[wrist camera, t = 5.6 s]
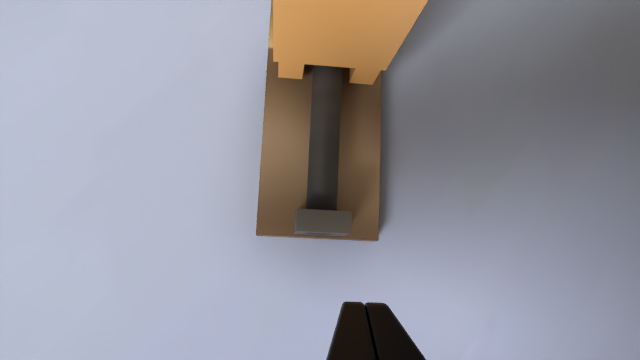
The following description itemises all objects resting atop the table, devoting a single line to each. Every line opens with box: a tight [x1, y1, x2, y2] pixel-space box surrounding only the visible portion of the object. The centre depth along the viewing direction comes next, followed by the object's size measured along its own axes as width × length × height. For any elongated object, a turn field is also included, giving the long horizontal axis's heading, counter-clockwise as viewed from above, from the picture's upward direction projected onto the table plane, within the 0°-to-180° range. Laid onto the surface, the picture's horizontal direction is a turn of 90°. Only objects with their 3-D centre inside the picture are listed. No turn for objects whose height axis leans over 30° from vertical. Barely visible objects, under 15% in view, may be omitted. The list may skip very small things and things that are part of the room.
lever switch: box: [256, 0, 382, 241], centre depth 19 cm, size 12×5×5 cm, turn 177°
